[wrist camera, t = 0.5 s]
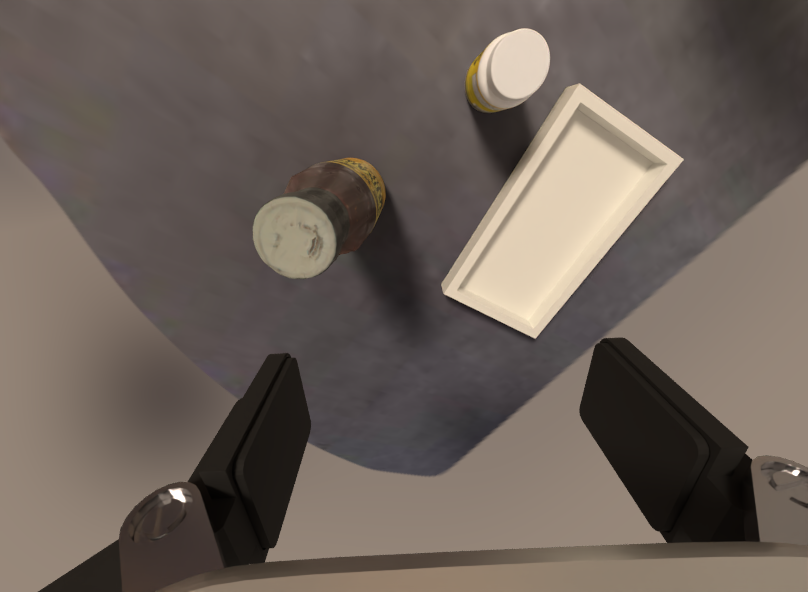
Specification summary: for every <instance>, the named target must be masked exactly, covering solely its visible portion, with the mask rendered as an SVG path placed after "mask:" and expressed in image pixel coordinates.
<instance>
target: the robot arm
mask: <svg viewBox="0 0 808 592" xmlns="http://www.w3.org/2000/svg"><path fill="white" fill-rule="evenodd" d="M580 416H581V419H582V421H583V422H584V424H585V425H586V427H587V428H588V430H589V431H590V433H591V434H592V436H593V438H594V439H595V441H596V442H597V444H598V445H599V447H600V448H601V450H602V451H603V453H604V455H605V456H606V458H607V459H608V461H609V462H610V464H611V465H612V467H613V468H614V470H615V471H616V473H617V475H618V476H619V478H620V479H621V481H622V482H623V484H624V485H625V487H626V488H627V490H628V492H629V493H630V495H631V496H632V497H633V499H634V501H635V502H636V504H637V505H638V507H639V508H640V510H641V512H642V513H643V515H644V516H645V518H646V519H647V521H648V522H649V524H650V525H651V526H652V528H654V529H655V530H656V531H660V533H661V534H662V536H663V537H664V539H665V540H666V542H667V543H656V544H629V545H602V546H576V547H554V548H553V547H552V548H528V549H505V550H481V551H459V552H437V553H418V554H396V555H375V556H355V557H336V558H321V559H308V560H292V561H277V562H265V560H266V556H267V553H268V550H269V548H274V547H275V545H276V543H277V541H278V538H279V534H280V531H281V527H282V524H283V521H284V517H285V514H286V510H287V507H288V504H289V501H290V497H291V494H292V491H293V487H294V484H295V481H296V477H297V474H298V471H299V467H300V464H301V461H302V457H303V454H304V451H305V447H306V444H307V441H308V437H309V434H310V429H311V420H310V416H309V411H308V407H307V403H306V398H305V394H304V390H303V385H302V381H301V377H300V372H299V368H298V364H297V360H296V358H291V356H290V354H288V353H283V354H270V355H268V356H267V358H266V360H265V361H264V363H263V365H262V366H261V368H260V370H259V371H258V373H257V375H256V376H255V378H254V380H253V381H252V383H251V385H250V387H249V388H248V390H247V392H246V393H245V395H244V397H243V398H241V399H240V400H238V401H237V402H236V404H235V405H234V407H233V409H232V410H231V412H230V413H229V415H228V417H227V418H226V420H225V422H224V423H223V425H222V426H221V428H220V430H219V431H218V433H217V435H216V436H215V438H214V440H213V441H212V443H211V444H210V446H209V448H208V449H207V451H206V453H205V454H204V456H203V457H202V459H201V461H200V462H199V464H198V466H197V467H196V469H195V471H194V472H193V474H192V476H191V477H190V479H189V480H188V482H176V483H172V484H168V485H166V486H164V487H161V488H159V489H157V490H155V491H154V492H152V493H151V494H149V495H148V496H146V497H145V498H144V499H143V500H142V501H141V502H139V503H138V504H137V505H136V506H135V507H134V508H133V510H132V511H131V512H130V513H129V514H128V516H127V517H126V519H125V521H124V523H123V525H122V527H121V529H120V534H119V539H118V540H117V541H115V542H114V543H112V544H111V545H109V546H108V547H106V548H104V549H103V550H102V551H100V552H98V553H97V554H95V555H94V556H92V557H91V558H89V559H88V560H86V561H85V562H83V563H82V564H80V565H78V566H77V567H75V568H74V569H72V570H71V571H69V572H68V573H66V574H65V575H63V576H61V577H60V578H58V579H57V580H55V581H54V582H52V583H51V584H49V585H48V586H46V587H45V588H43V589H41V590H40V591H38V592H808V467H805V466H803V465H801V464H799V463H796V462H794V461H791V460H788V459H784V458H781V457H775V456H767V455H766V456H758V457H756V458H755V459H753V460H752V459H750V457H748V456H747V455H746V454H745V452H746V451H747V449H748V446H747V445H746V444H745V443H743V442H742V441H741V440H740V439H739V438H738V437H736V436H735V435H734V434H733V433H732V432H731V431H730V430H729V429H728V428H726V427H725V426H724V425H723V424H722V423H720V421H719V420H717V419H716V418H715V417H714V416H713V415H712V414H711V413H709V412H708V411H707V410H706V409H705V408H704V407H703V406H702V405H700V404H699V403H698V402H697V401H696V400H695V399H694V398H692V397H691V396H690V395H689V394H688V393H687V392H686V391H685V390H684V389H682V388H681V387H680V386H679V385H678V384H676V382H674V381H673V380H672V379H671V378H670V377H669V376H668V375H667V374H665V373H664V372H663V371H662V370H661V369H660V368H659V367H658V366H656V365H655V364H654V363H653V362H652V361H651V360H650V359H648V358H647V357H646V356H645V355H644V354H643V353H642V352H641V351H639V350H638V349H637V348H636V347H635V346H634V345H633V344H632V343H630V342H629V341H628V340H627V339H625V338H604V339H602V340H601V341H600V343H598V344H596V345H595V348H594V352H593V356H592V360H591V364H590V368H589V372H588V376H587V380H586V384H585V388H584V392H583V396H582V401H581V404H580Z"/></svg>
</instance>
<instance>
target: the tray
mask: <svg viewBox="0 0 808 592" xmlns="http://www.w3.org/2000/svg"><path fill="white" fill-rule="evenodd" d="M683 160H684V159H683V158H681V157H680V156H678V155H677V154H676V153H674V152H673V151H672V150H670V149H669V148H667V147H666V146H665V145H663V144H662V143H661V142H659V141H658V140H656V139H655V138H654V137H652V136H651V135H650V134H648V133H647V132H645V131H644V130H643V129H641V128H640V127H639V126H637V125H636V124H634V123H633V122H632V121H630V120H629V119H628V118H626V117H625V116H624V115H622V114H621V113H619V112H618V111H617V110H615V109H614V108H613V107H611V106H610V105H608V104H607V103H606V102H604V101H603V100H602V99H600V98H599V97H597V96H596V95H595V94H593V93H592V92H591V91H589V90H588V89H586V88H585V87H584V86H582V85H581V84H580V83H579V84H576V85H573V86H569V87H566V88H565V90H564V91H563V93H562V94H561V96H560V98H559V99H558V101H557V102H556V104H555V105H554V107H553V109H552V110H551V112H550V113H549V115H548V117H547V118H546V120H545V121H544V123H543V124H542V126H541V128H540V129H539V131H538V132H537V134H536V135H535V137H534V139H533V140H532V142H531V143H530V145H529V147H528V148H527V150H526V151H525V153H524V154H523V156H522V158H521V159H520V161H519V162H518V164H517V166H516V167H515V169H514V170H513V172H512V173H511V175H510V177H509V178H508V180H507V181H506V183H505V184H504V186H503V188H502V189H501V191H500V192H499V194H498V196H497V197H496V199H495V200H494V202H493V203H492V205H491V207H490V208H489V210H488V211H487V213H486V215H485V216H484V218H483V219H482V221H481V222H480V224H479V226H478V227H477V229H476V230H475V232H474V233H473V235H472V237H471V238H470V240H469V241H468V243H467V245H466V246H465V248H464V249H463V251H462V252H461V254H460V256H459V257H458V259H457V260H456V262H455V264H454V265H453V267H452V268H451V270H450V271H449V273H448V275H447V276H446V278H445V279H444V281H443V283H442V284H441V286H442V289H443V293H444V294H445V295H447V296H449V297H451V298H453V299H455V300H457V301H459V302H461V303H463V304H465V305H467V306H469V307H471V308H474V309H476V310H478V311H480V312H482V313H484V314H486V315H488V316H490V317H492V318H494V319H496V320H498V321H500V322H502V323H504V324H506V325H508V326H510V327H512V328H514V329H516V330H518V331H520V332H522V333H525V334H527V335H529V336H531V337H533V338H536V337H537V336H538V335H539V334H540V332H541V331H542V330H543V329H544V328H545V326H546V325H547V324H548V323H549V322H550V320H551V319H552V318H553V317H554V315H555V314H556V313H557V312H558V311H559V309H560V308H561V307H562V306H563V305H564V303H565V302H566V301H567V300H568V299H569V297H570V296H571V295H572V294H573V293H574V291H575V290H576V289H577V288H578V286H579V285H580V284H581V283H582V282H583V280H584V279H585V278H586V277H587V276H588V274H589V273H590V272H591V271H592V270H593V268H594V267H595V266H596V265H597V264H598V262H599V261H600V260H601V259H602V257H603V256H604V255H605V254H606V253H607V251H608V250H609V249H610V248H611V247H612V245H613V244H614V243H615V242H616V241H617V239H618V238H619V237H620V236H621V235H622V233H623V232H624V231H625V230H626V228H627V227H628V226H629V225H630V224H631V222H632V221H633V220H634V219H635V218H636V216H637V215H638V214H639V213H640V212H641V210H642V209H643V208H644V207H645V206H646V204H647V203H648V202H649V201H650V199H651V198H652V197H653V196H654V195H655V193H656V192H657V191H658V190H659V189H660V187H661V186H662V185H663V184H664V183H665V181H666V180H667V179H668V178H669V177H670V175H671V174H672V173H673V172H674V170H675V169H676V168H677V167H678V166H679V164H680V163H681V162H682V161H683Z"/></svg>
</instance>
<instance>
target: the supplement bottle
mask: <svg viewBox="0 0 808 592" xmlns="http://www.w3.org/2000/svg"><path fill="white" fill-rule="evenodd" d="M549 65H550V53H549V48H548V45H547V43H546V41H545V39H544V38H543V37H542V36H541V35H540V34H539V33H538V32H536V31H534V30H531V29H518V30H515V31H513V32H509V33H506V34H503V35H501V36H499V37H498V38H496V39H495V40H494V41H492V42H491V43H490V44H489V45H488V46H487V47H486V49H485V50H484V51H483V52H482V53H481V54H480V55H479V56H478V57H477V58H476V59H475V60H474V61H473V63H472V64H471V65H470V67H469V69H468V71H467V74H466V78H465V93H466V97H467V99H468V101H469V103H470V104H471V105H472V106H473V107H474V108H475V109H476V110H478V111H480V112H483V113H494V112H498V111H501V110H505V109H509V108H513V107H515V106H517V105H519V104H521V103H523V102H524V101H525V100H527V99H528V98H529V97H530V96H531V95H532V94H533V93H534V92H535V91H536V90H537V89H538V88H539V87H540V86H541V85H542V83H543V81H544V80H545V78H546V76H547V73H548V70H549Z"/></svg>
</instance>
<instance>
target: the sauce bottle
mask: <svg viewBox="0 0 808 592" xmlns="http://www.w3.org/2000/svg"><path fill="white" fill-rule="evenodd" d="M385 198H386V193H385V186H384V182H383V180H382V178H381V176H380V174H379V173H378V171H377V170H376V169H375V168H374V167H373V166H372V165H371V164H369V163H368V162H366V161H364V160H361V159H357V158H345V159H339V160H334V161H326V162H322V163H318V164H315V165H313V166H311V167H309V168H308V169H306V170H304V171H302V172H300V173H298V174H296V175H294V176H292V177H291V179H290V181H289V184H288V186H287V188H286V190H285V193H284V194H283V195H281V196H278V197H276V198H274V199H273V200H271V201H269V202H268V203H266V204H265V205H263V206H262V208H261V209H260V210H259V212H258V213H257V215H256V217H255V220H254V224H253V240H254V244H255V248H256V250H257V252H258V254H259V255H260V257H261V259H262V260H263V261H264V262H265V263H266V264H267V265H268V266H269V267H271V268H272V269H273V270H275V271H276V272H277V273H279V274H281V275H283V276H285V277H289V278H293V279H306V278H312V277H315V276H317V275H320V274H322V273H323V272H324V271H326V270H327V269H328V268H329V266H331V264H332V263H333V262H334V261H335V260H336V259H337V257H338V255H340V254H346V253H349V252H350V251H355V250H357V249H358V248H359V247H360V246H361V244H362V243H363V241H364V240H365V239H366V237H367V236H368V235H369V234H370V233H371V231H372V230H373V228H374V226H375V224H376V221H377V219H378V217H379V215H380V213H381V210H382V208H383V205H384V202H385Z"/></svg>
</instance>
